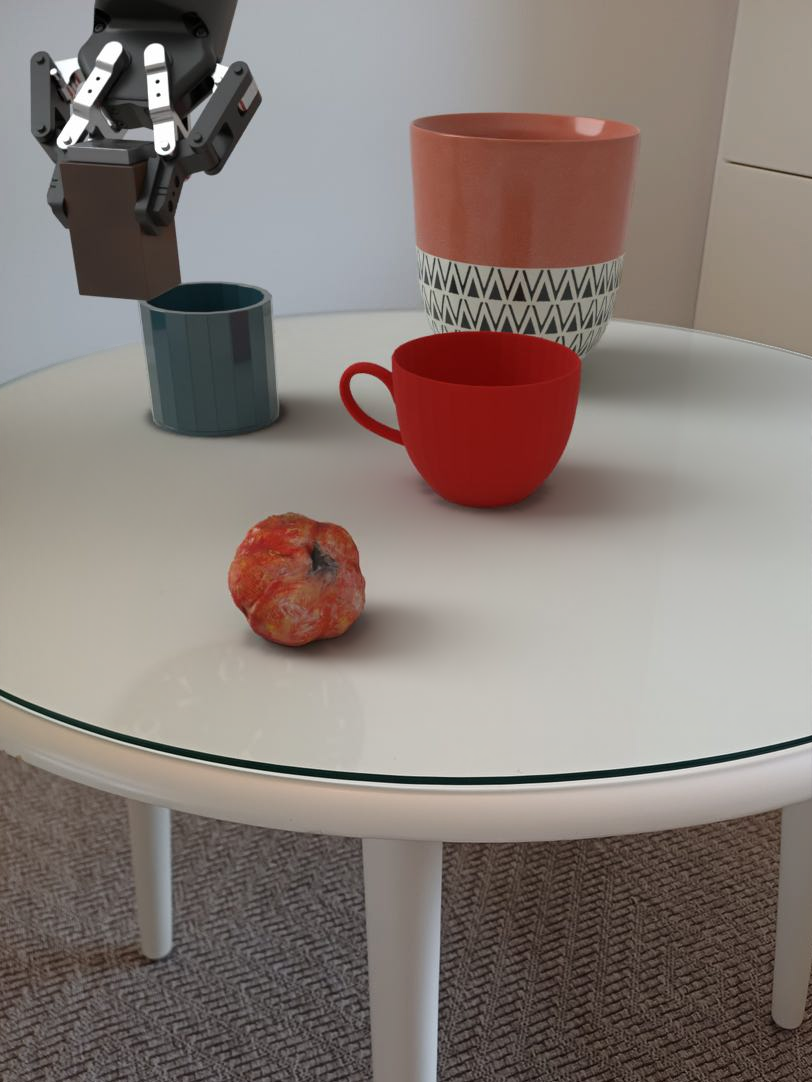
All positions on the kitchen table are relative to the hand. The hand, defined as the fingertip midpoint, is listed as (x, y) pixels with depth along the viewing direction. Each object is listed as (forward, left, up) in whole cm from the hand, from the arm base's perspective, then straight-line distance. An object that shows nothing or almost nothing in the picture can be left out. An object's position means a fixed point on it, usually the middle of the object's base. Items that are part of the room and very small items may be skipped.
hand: (106, 223), depth 63 cm
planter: (+27, +35, -20) cm, 49 cm away
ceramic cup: (+20, +8, -20) cm, 30 cm away
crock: (+1, +23, -20) cm, 30 cm away
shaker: (+1, +2, -4) cm, 4 cm away
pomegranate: (+10, -12, -20) cm, 26 cm away
